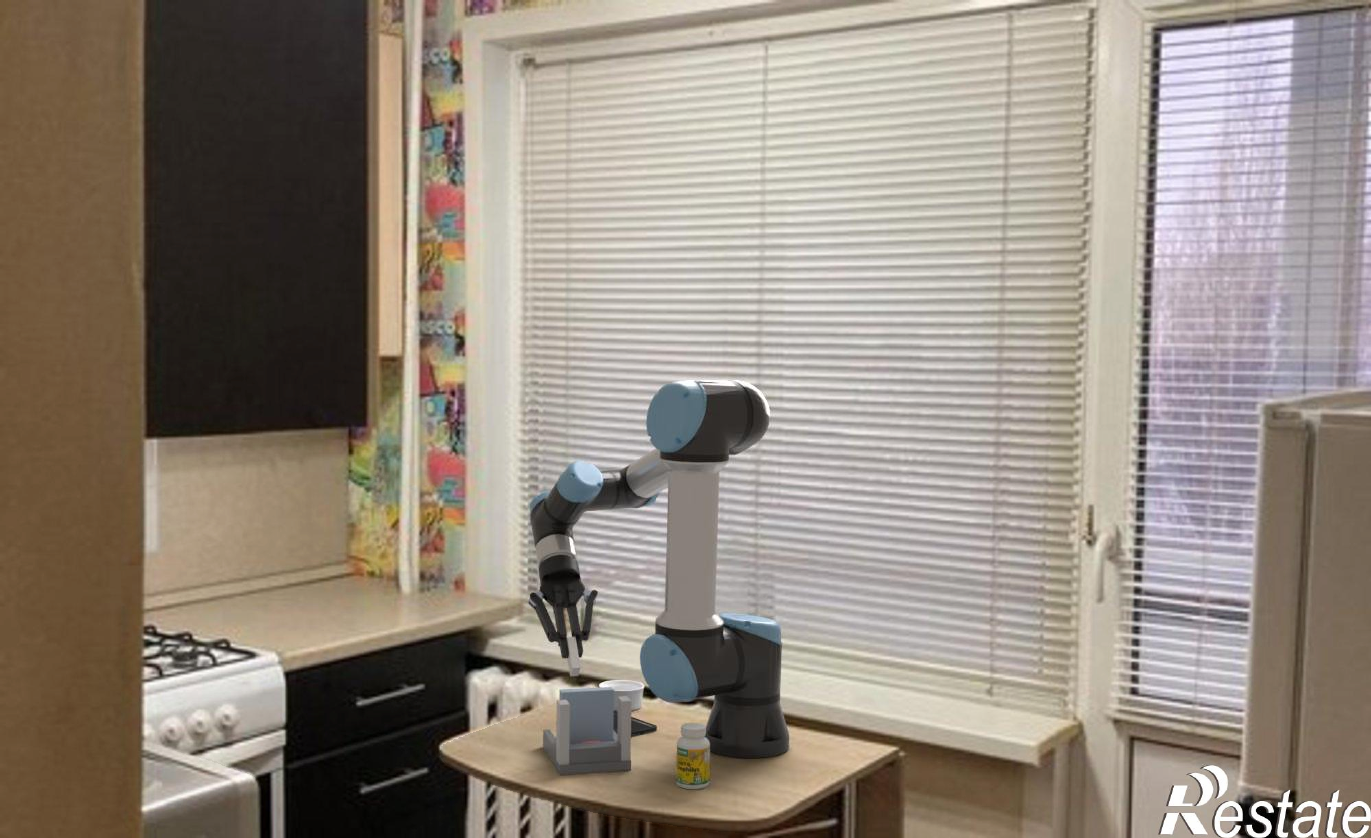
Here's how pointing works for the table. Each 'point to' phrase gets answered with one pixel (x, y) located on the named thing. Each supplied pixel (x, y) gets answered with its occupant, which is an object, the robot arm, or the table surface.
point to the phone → (635, 726)
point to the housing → (589, 745)
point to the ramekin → (626, 692)
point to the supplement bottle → (693, 757)
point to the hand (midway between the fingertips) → (575, 671)
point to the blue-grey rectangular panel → (590, 713)
